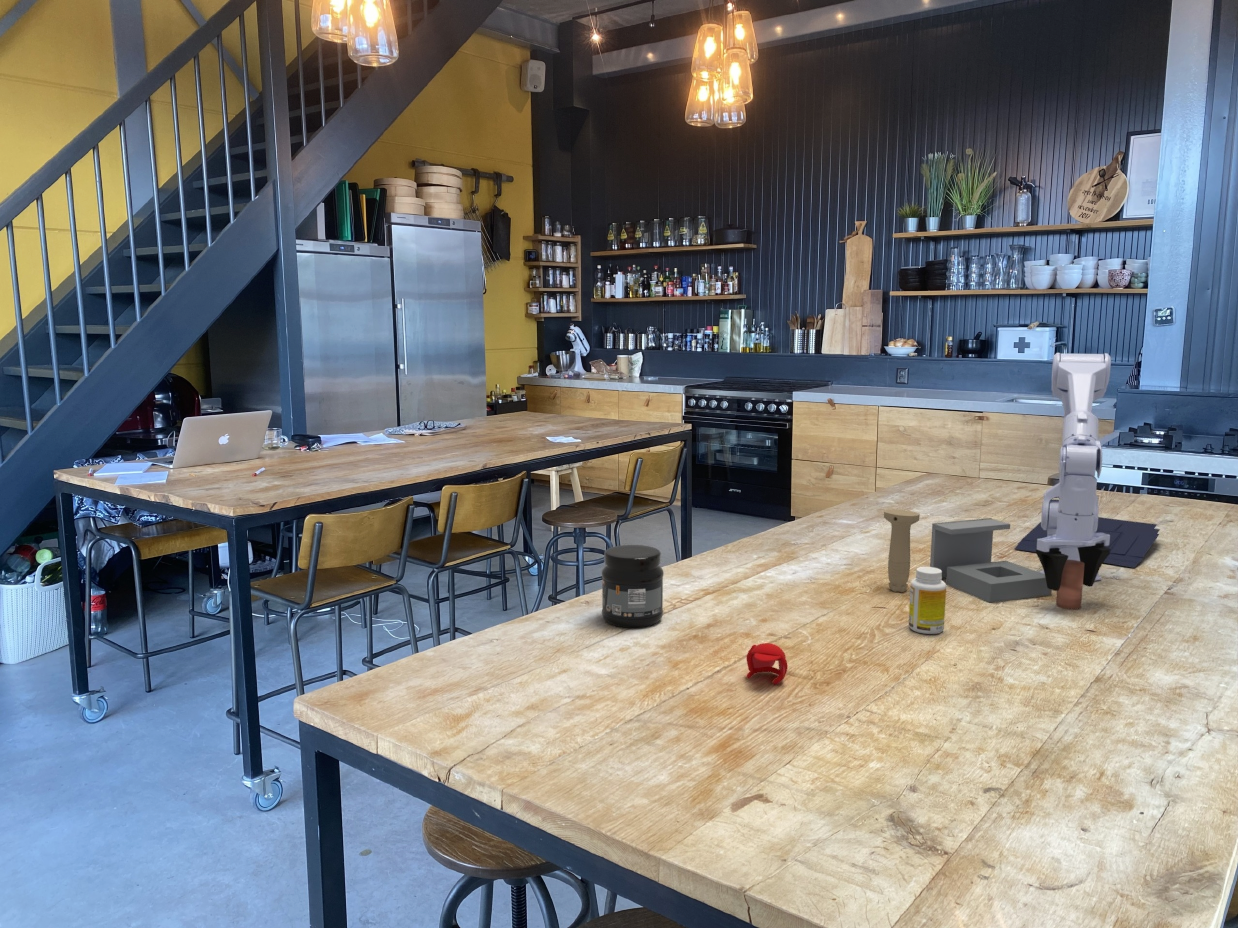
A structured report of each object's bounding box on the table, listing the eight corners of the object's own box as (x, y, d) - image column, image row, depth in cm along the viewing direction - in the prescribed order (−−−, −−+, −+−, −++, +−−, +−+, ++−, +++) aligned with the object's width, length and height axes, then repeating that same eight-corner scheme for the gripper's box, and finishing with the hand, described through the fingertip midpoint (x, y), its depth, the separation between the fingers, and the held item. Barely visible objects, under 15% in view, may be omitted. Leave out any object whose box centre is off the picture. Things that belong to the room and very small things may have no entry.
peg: (1068, 601, 165) (1071, 558, 164) (1086, 608, 162) (1089, 564, 160) (1050, 603, 164) (1054, 560, 163) (1068, 610, 160) (1071, 566, 159)
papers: (1165, 537, 209) (1166, 521, 208) (1135, 580, 187) (1136, 563, 186) (1052, 521, 224) (1053, 507, 223) (1012, 560, 202) (1012, 544, 201)
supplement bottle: (951, 632, 149) (954, 571, 148) (925, 637, 147) (929, 576, 145) (926, 622, 154) (929, 563, 153) (901, 626, 152) (904, 567, 150)
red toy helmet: (743, 669, 134) (744, 633, 133) (781, 670, 134) (782, 634, 133) (749, 690, 126) (750, 652, 126) (789, 690, 126) (790, 652, 125)
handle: (907, 596, 168) (911, 517, 166) (876, 589, 173) (879, 512, 170) (919, 590, 172) (923, 513, 169) (888, 584, 176) (891, 508, 174)
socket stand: (986, 571, 185) (990, 518, 183) (1051, 594, 169) (1055, 537, 167) (929, 577, 180) (932, 523, 179) (990, 602, 165) (994, 543, 163)
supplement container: (632, 605, 163) (632, 540, 161) (676, 619, 156) (676, 551, 154) (589, 619, 156) (588, 551, 154) (632, 634, 149) (632, 563, 147)
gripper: (1061, 520, 154) (1055, 597, 156) (1126, 514, 159) (1120, 589, 161) (1030, 511, 161) (1024, 586, 163) (1093, 506, 165) (1087, 578, 167)
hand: (1069, 587), depth 162 cm, fingers open, 7 cm apart
